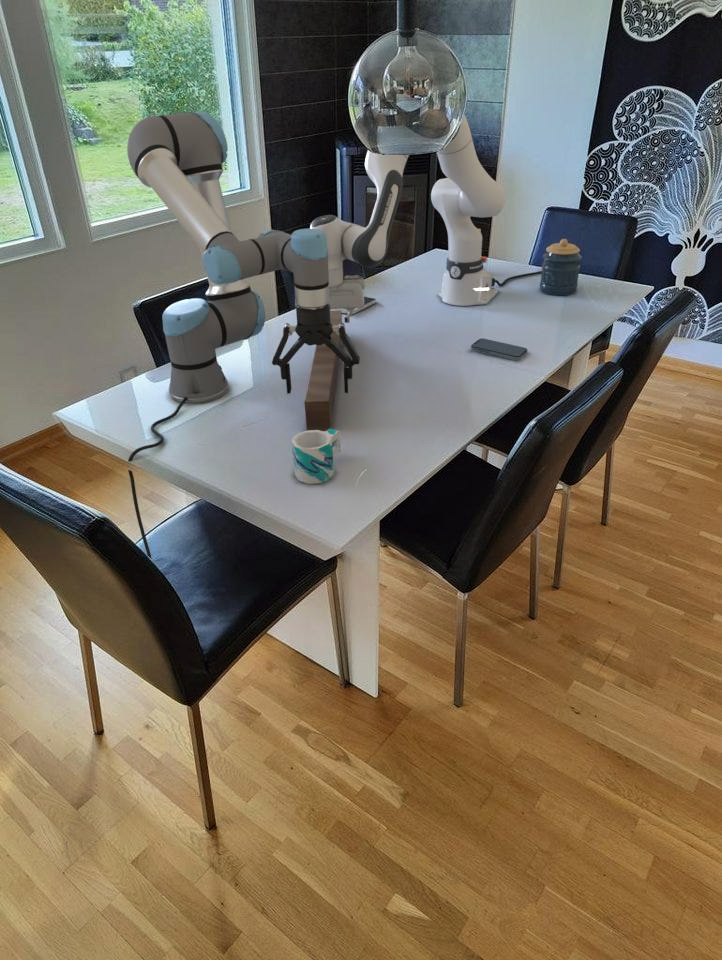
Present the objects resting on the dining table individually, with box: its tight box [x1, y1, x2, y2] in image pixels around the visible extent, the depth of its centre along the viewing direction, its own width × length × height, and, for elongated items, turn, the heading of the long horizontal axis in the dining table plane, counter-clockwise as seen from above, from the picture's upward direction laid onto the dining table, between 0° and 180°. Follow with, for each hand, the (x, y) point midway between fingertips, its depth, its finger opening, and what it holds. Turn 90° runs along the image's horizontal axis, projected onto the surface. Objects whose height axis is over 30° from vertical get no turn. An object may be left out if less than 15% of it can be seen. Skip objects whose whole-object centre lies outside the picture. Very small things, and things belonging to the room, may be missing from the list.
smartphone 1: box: [334, 296, 377, 315], centre depth 231 cm, size 8×1×15 cm
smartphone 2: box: [470, 337, 528, 361], centre depth 193 cm, size 8×2×15 cm
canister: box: [539, 238, 582, 296], centre depth 234 cm, size 13×13×18 cm
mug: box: [291, 428, 341, 485], centre depth 140 cm, size 8×12×8 cm
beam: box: [303, 310, 343, 432], centre depth 181 cm, size 62×6×8 cm, turn 179°
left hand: (317, 391), depth 160 cm, fingers open, 13 cm apart
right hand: (331, 322), depth 200 cm, fingers open, 8 cm apart
